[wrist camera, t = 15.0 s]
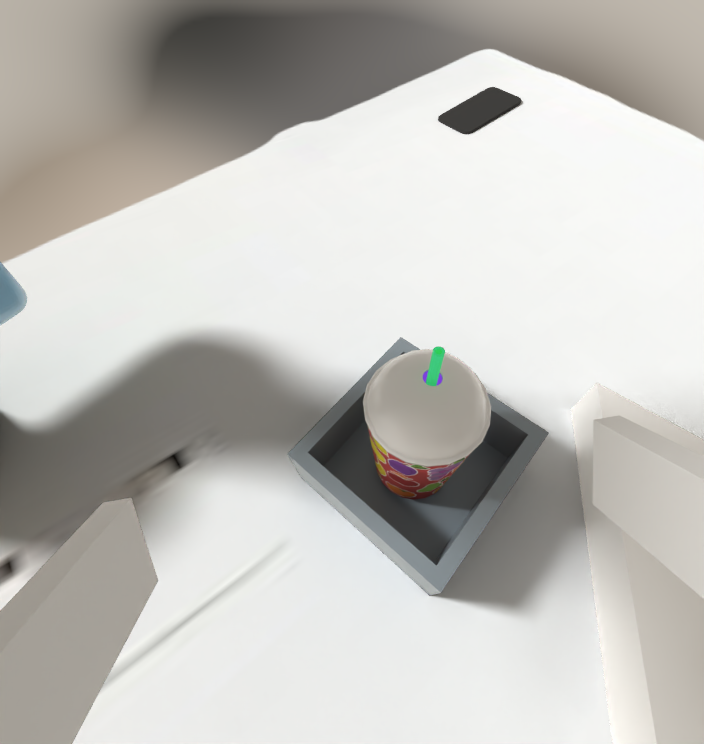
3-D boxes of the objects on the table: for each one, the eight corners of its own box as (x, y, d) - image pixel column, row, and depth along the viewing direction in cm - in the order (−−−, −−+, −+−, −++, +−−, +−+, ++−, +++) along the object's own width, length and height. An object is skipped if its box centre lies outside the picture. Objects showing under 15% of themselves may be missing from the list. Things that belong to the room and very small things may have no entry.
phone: (435, 117, 70) (491, 85, 75) (434, 122, 71) (490, 90, 75) (467, 133, 67) (524, 99, 72) (466, 138, 68) (522, 104, 72)
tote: (301, 477, 39) (287, 453, 33) (397, 373, 45) (400, 337, 39) (429, 595, 34) (440, 592, 28) (522, 459, 39) (548, 432, 33)
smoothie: (427, 413, 41) (464, 273, 24) (472, 488, 37) (556, 383, 20) (353, 446, 40) (335, 323, 22) (391, 527, 36) (405, 452, 18)
